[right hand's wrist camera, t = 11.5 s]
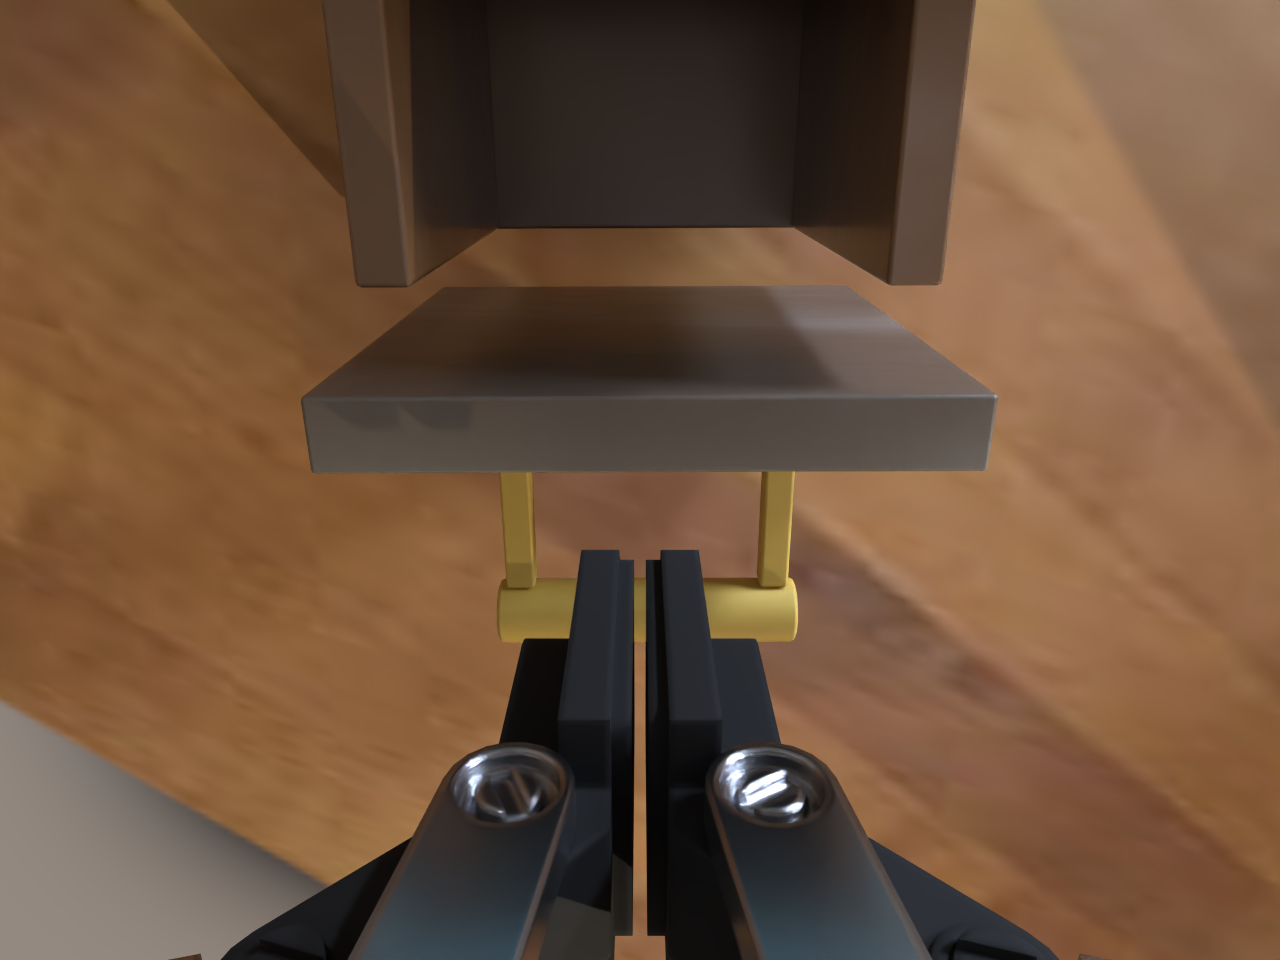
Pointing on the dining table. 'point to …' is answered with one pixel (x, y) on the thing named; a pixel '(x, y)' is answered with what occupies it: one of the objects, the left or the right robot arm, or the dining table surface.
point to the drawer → (648, 198)
